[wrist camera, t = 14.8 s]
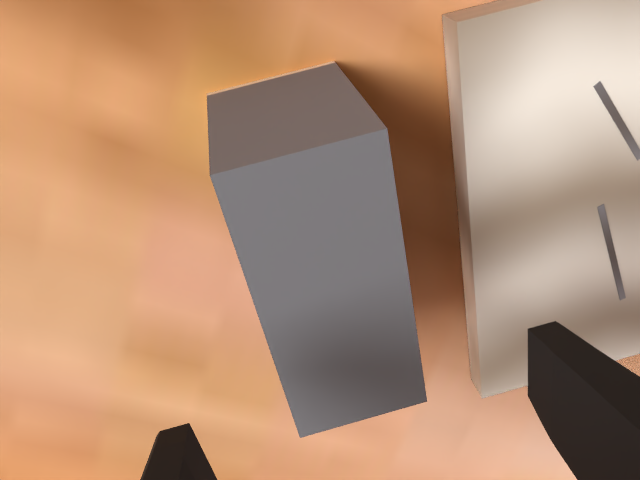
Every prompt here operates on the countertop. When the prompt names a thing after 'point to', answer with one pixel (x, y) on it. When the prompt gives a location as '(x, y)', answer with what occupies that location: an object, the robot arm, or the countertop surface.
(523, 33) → the ash board
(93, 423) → the countertop surface
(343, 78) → the block
